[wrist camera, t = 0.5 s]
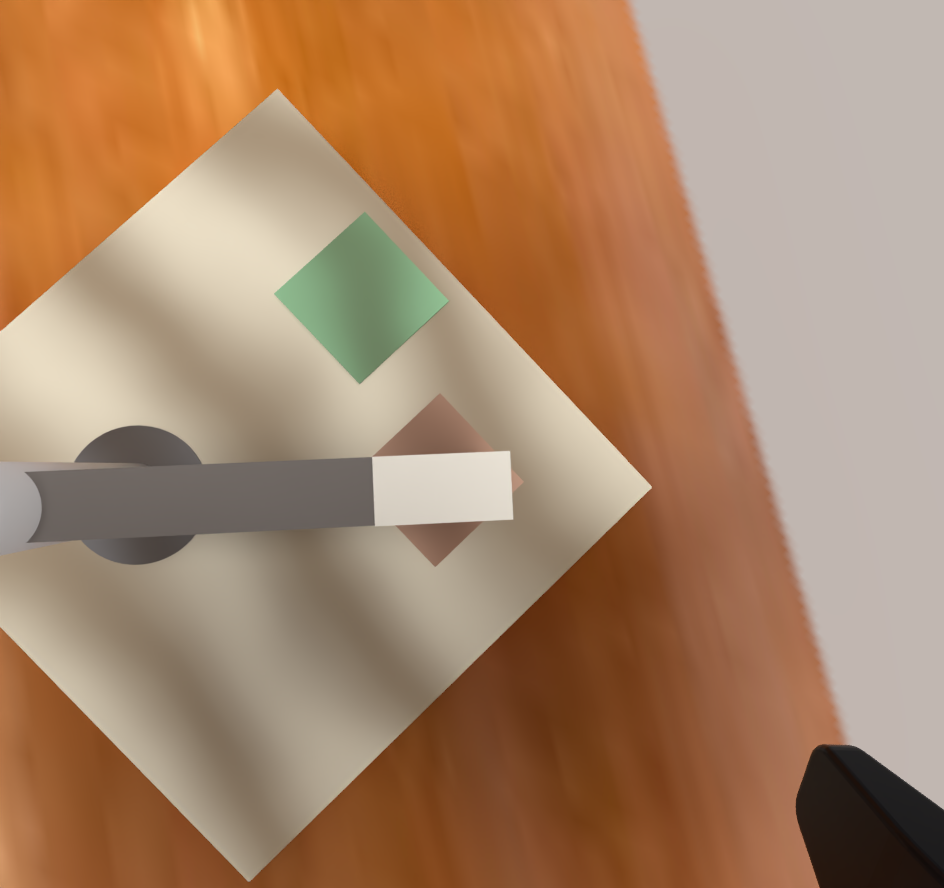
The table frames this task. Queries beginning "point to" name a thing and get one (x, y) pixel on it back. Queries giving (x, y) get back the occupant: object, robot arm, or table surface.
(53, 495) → the grey upright slab
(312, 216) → the cream square board
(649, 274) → the table surface
